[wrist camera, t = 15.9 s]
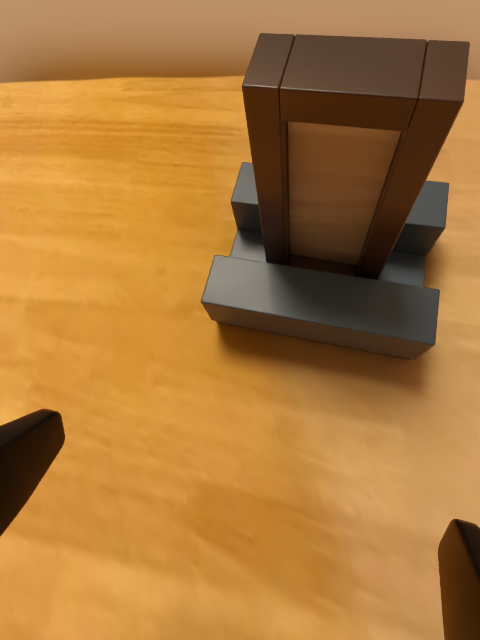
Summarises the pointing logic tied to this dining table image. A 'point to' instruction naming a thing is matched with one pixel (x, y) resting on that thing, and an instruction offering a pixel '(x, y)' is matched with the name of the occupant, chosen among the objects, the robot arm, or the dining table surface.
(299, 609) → the dining table surface
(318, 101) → the frame
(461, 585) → the robot arm
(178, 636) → the dining table surface
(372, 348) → the holder
